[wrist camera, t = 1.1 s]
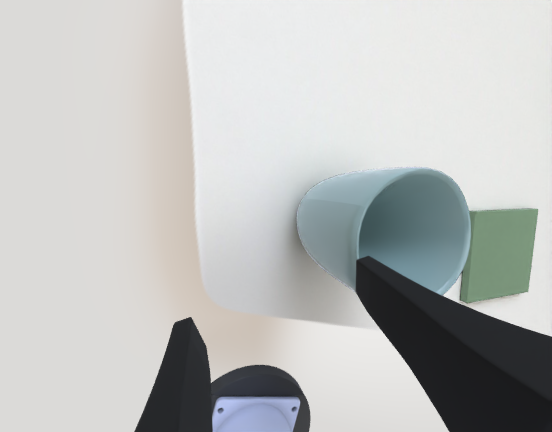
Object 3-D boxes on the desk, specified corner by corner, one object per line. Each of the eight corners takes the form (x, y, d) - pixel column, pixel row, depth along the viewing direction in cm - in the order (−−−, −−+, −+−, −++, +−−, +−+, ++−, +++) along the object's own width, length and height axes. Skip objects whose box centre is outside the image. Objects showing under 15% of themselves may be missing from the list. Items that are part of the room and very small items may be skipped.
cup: (273, 186, 21) (339, 189, 12) (354, 163, 23) (465, 150, 14) (296, 273, 23) (369, 337, 14) (370, 244, 25) (479, 282, 16)
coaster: (520, 289, 33) (528, 291, 32) (459, 300, 30) (467, 303, 29) (530, 208, 31) (538, 209, 31) (467, 211, 28) (475, 212, 28)
